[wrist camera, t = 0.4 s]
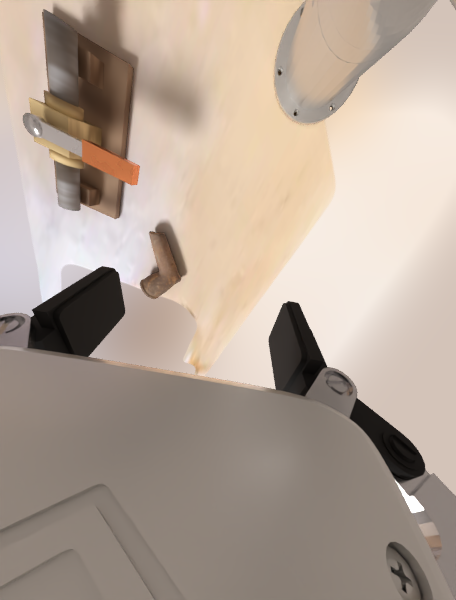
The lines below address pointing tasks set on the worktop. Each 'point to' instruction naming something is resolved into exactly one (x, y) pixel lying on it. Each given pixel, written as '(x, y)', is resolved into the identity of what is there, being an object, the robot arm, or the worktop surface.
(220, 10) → the worktop surface
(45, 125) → the valve lever
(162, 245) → the pipe
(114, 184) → the valve stand
